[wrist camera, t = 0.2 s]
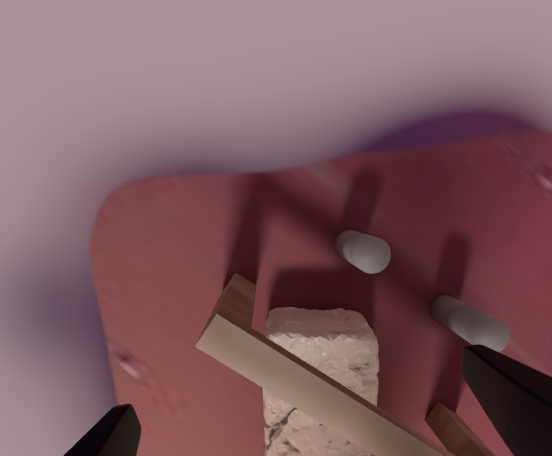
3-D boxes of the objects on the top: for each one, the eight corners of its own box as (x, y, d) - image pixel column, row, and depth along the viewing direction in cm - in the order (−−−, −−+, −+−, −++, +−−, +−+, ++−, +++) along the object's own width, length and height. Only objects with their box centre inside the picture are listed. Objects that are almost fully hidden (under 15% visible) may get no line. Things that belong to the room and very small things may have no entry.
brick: (263, 306, 23) (262, 332, 18) (361, 306, 23) (386, 332, 19) (262, 487, 25) (261, 554, 20) (355, 484, 25) (375, 549, 20)
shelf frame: (442, 431, 24) (542, 558, 16) (222, 291, 23) (194, 346, 14) (511, 337, 24) (654, 413, 15) (291, 187, 22) (309, 175, 13)
